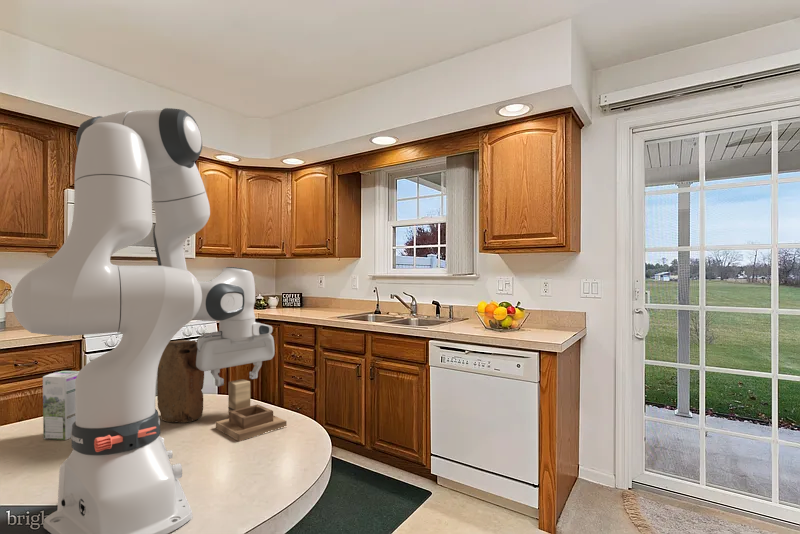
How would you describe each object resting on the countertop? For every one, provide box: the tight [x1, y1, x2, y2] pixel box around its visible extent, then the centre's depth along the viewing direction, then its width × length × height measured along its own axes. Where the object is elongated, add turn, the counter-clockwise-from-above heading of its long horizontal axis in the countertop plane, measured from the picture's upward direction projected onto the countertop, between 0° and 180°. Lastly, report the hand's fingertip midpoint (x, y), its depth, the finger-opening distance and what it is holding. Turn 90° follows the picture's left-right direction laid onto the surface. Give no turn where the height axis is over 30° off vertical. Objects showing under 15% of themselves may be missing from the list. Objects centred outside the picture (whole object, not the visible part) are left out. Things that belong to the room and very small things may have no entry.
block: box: [156, 339, 205, 424], centre depth 113 cm, size 11×8×20 cm
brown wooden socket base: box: [215, 404, 288, 442], centre depth 106 cm, size 12×12×4 cm
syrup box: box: [42, 370, 80, 441], centre depth 102 cm, size 6×6×14 cm
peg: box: [227, 378, 251, 412], centre depth 115 cm, size 4×4×9 cm
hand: (237, 381), depth 115 cm, fingers open, 8 cm apart
